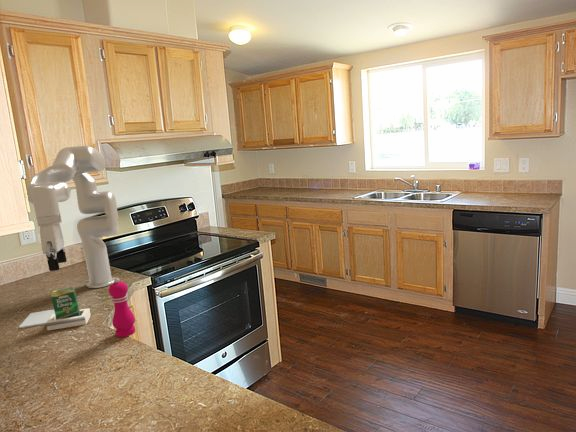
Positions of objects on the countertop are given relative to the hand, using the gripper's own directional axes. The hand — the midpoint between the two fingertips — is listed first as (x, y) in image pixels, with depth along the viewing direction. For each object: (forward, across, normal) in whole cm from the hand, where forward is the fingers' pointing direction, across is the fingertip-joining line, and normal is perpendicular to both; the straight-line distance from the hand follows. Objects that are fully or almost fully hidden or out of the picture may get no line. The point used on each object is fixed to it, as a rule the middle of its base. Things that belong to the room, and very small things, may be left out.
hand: (58, 266), depth 156 cm
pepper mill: (+22, +18, +22) cm, 36 cm away
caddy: (+22, 0, 0) cm, 22 cm away
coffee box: (+22, 0, 0) cm, 22 cm away
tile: (+22, -9, -12) cm, 27 cm away
